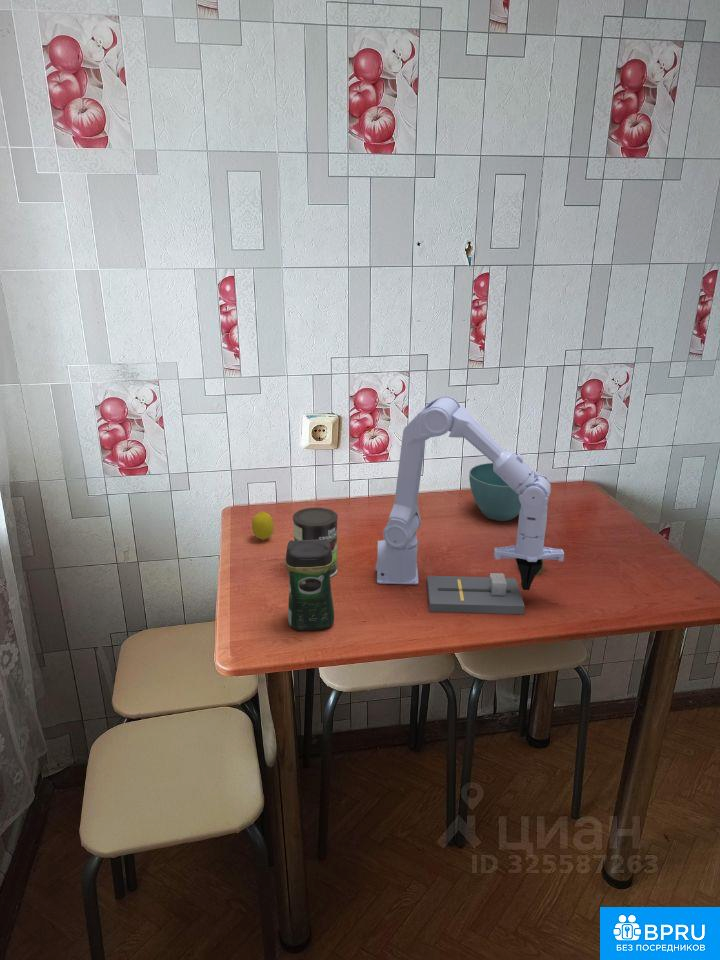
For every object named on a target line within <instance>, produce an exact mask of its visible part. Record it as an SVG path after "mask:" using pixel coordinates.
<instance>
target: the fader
mask: <svg viewBox="0 0 720 960" xmlns="http://www.w3.org/2000/svg"><path fill="white" fill-rule="evenodd" d="M489 577H490V580H489V587H490V591H491V595H501V596H506V586H507V583H506V580H505V578H506V577H505V573H502V572H500V573H498V572H495V573H494V572H493V573H492V572H490V573H489Z"/></svg>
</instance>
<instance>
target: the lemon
mask: <svg viewBox="0 0 720 960" xmlns="http://www.w3.org/2000/svg"><path fill="white" fill-rule="evenodd" d="M251 522H252V523H251V530H252V533H253V535H254V536H255V537H256V538H258V539H260V540H261V541H265V540H266V539H268V538H270V537H271V536H272V535H273V533H274V529H275V527H274V520H273V518H272V515H270V514H269V513H268V512H265V511H263V510H262V511H261V510H260V511H259V512H258V513H256V514H255V515H254V516H253V518H252V521H251Z"/></svg>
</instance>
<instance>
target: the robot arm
mask: <svg viewBox="0 0 720 960" xmlns="http://www.w3.org/2000/svg"><path fill="white" fill-rule="evenodd" d="M448 432H449V435H448V438H460V439H461V438H463V439H464V440H467V442H469V443H470V444H471V445H472V446H473V447H475V448H476V450H477V451H479V452H480V453H482V455H484V456H485V457H486V458H487V459H488V460H489V461H490V462H491V463H493V471H494V472H495V473H496V474H497V475H498V476H499V477H500V478H501V479H502V480H503V481H504V482H505V483H506V484H507V485H508V486H510V487H511V488H512V489H513V490H514V491H515V492H516V493H518V494H519V501H520V503H521V509H520V512H519V514H518V524H517V532H516V534H517V535H516V541H515V543H516V544H515V545H509V546H501V547H494V553H493V556H494V560H498V561H500V560H501V559H511V560H512V559H513V560H515V562H516V565H517V569H518V568H519V570H518V572H519V574H520V581H521V582H520V583H521V584H520V585H521V589H522V590H523V591H530V589H531V585H532V584H533V580H534V579H535V578H536V576H537V575H536V574H537V573H538V572H539V570H540V569H541V568H542V559H543V560H553V561H555V560H557V561H558V562H564V559H565V552H564V550H563V549H562V548H553V547H548V546H545V545H544V544H545V540H544V538H545V539H546V537H545V533H546V530H547V529H546V528H547V520H548V508H549V506H548V504H549V497H550V494H551V492H552V485H551V482H550V480H549V479H548V477H547V476H546V475H544V474H540V473H539V472H538V471H537V470H536V471H534V470H533V469H532V468H531V467H530V466H529V465H528V464H527V463H526V462H525V461H524V460H523V459H524V457H523V455H522V454H521V453H517V454H516V453H515V452H514V451H512V450H504V449H503V447H502V446H501V445H500V444H498V442H497V441H495V439H494V438H493V437H492V436H491V435H490V434H489V433H488V432H487V430H486V429H484V428H483V426H482V425H480V423H479V422H478V421H477V420H476V419H475V418H474V417H473V416H472V414H471V412H470V411H469V410H468V409H467V408H466V407H465V406H464V405H460V402H458V400H457V399H456V398H454V397H452V396H449V395H443V396H440V397H437V398H435V399H434V400H432V401H430V402H429V403H428V404H426V406H424V408H423V409H421V411H419V412H418V413H417V415H416V416H415V417H413V419H412V420H410V421H409V422H408V424H407V425H406V426H404V428H403V431H402V436H401V437H402V439H401V445H400V454H399V462H398V471H397V479H396V488H395V497H394V504H393V506H392V509H391V510H390V511H391V512H390V514H389V517H388V522H387V524H386V526H385V527H384V528H383V532H382V536H383V539H382V540H381V539H380V540H377V554H376V555H377V561H376V563H375V571H376V583H377V584H380V585H381V584H383V585H385V584H386V585H387V584H389V585H419V571H418V546H419V545H418V543H419V541H418V537H417V531H418V530H420V527H421V524H422V519H421V517H420V513H419V509H420V506H419V504H418V499H419V491H420V484H421V475H422V470H423V461H424V454H425V446H426V441H427V440H428V439H430V438H435V437H440V436H444V435H445V434H447V433H448Z"/></svg>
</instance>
